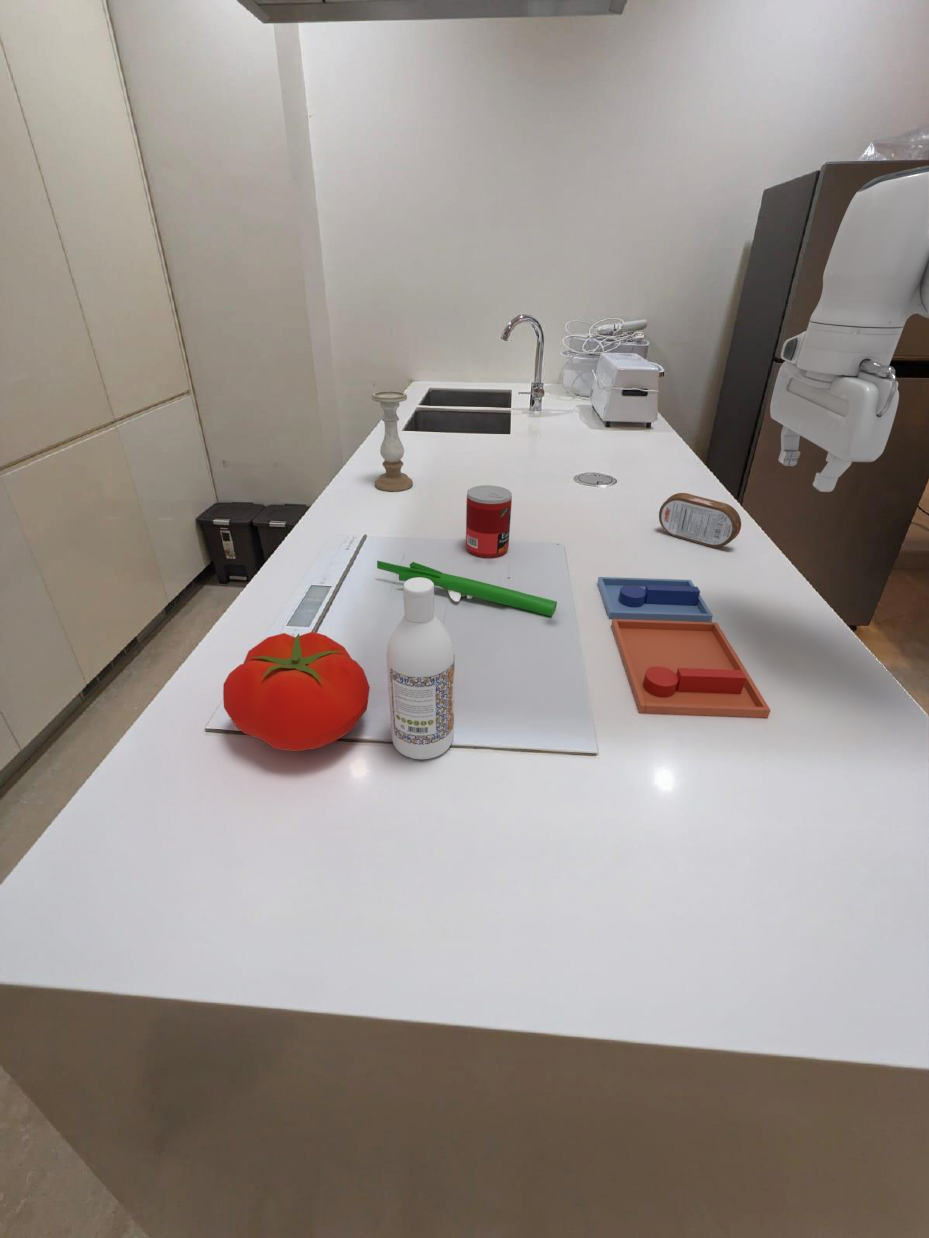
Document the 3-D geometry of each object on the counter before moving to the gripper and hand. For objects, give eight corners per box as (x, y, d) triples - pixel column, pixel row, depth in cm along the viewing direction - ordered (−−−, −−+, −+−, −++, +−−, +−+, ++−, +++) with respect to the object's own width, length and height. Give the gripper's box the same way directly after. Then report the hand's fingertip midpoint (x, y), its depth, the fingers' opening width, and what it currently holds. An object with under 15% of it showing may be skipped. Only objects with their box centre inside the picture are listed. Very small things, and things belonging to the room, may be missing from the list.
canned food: (506, 560, 104) (510, 501, 98) (462, 556, 105) (463, 498, 99) (510, 542, 110) (514, 486, 104) (468, 539, 111) (470, 483, 105)
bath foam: (460, 755, 63) (463, 598, 53) (397, 767, 62) (387, 606, 51) (446, 714, 69) (446, 564, 58) (388, 723, 67) (377, 570, 57)
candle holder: (420, 485, 136) (418, 394, 125) (391, 494, 131) (386, 400, 120) (395, 476, 141) (391, 388, 130) (367, 485, 136) (360, 394, 125)
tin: (735, 548, 109) (747, 506, 105) (729, 554, 107) (742, 511, 103) (659, 527, 117) (668, 487, 113) (653, 532, 115) (661, 491, 111)
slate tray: (688, 588, 96) (690, 579, 95) (710, 624, 87) (713, 615, 86) (596, 585, 97) (598, 576, 96) (608, 621, 87) (610, 612, 86)
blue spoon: (691, 596, 93) (695, 582, 92) (698, 609, 90) (702, 595, 88) (616, 594, 93) (618, 580, 92) (620, 607, 90) (623, 592, 88)
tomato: (316, 791, 59) (304, 718, 53) (205, 734, 65) (184, 664, 60) (397, 710, 69) (394, 642, 64) (295, 668, 76) (284, 603, 71)
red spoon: (733, 680, 75) (738, 664, 73) (744, 700, 71) (750, 683, 70) (639, 676, 75) (643, 660, 74) (646, 696, 72) (650, 680, 70)
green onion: (555, 613, 90) (384, 569, 98) (558, 596, 88) (383, 552, 96) (547, 630, 86) (369, 582, 95) (550, 611, 84) (369, 564, 93)
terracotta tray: (714, 631, 85) (717, 622, 84) (766, 720, 69) (770, 710, 68) (610, 627, 86) (612, 618, 85) (638, 715, 69) (641, 705, 68)
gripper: (936, 370, 55) (877, 508, 62) (828, 342, 72) (793, 453, 79) (868, 368, 55) (817, 507, 62) (777, 340, 72) (746, 451, 79)
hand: (803, 476), depth 71 cm, fingers open, 8 cm apart
